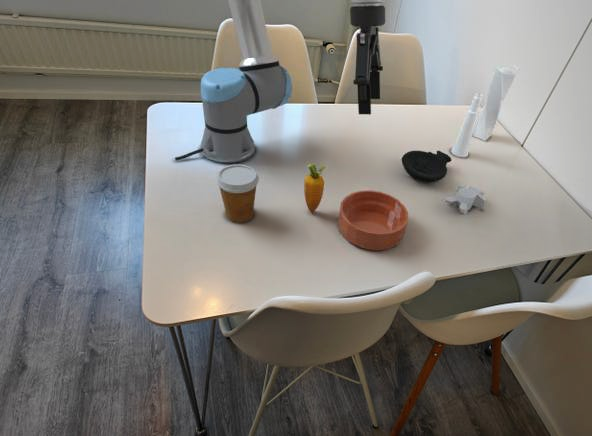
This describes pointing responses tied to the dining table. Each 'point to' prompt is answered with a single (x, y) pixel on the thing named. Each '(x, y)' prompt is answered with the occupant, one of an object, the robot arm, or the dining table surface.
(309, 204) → the carrot
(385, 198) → the bowl
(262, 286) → the dining table surface
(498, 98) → the skyscraper
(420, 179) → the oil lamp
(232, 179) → the disposable coffee cup
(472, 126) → the cosmetic bottle
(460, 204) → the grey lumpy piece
